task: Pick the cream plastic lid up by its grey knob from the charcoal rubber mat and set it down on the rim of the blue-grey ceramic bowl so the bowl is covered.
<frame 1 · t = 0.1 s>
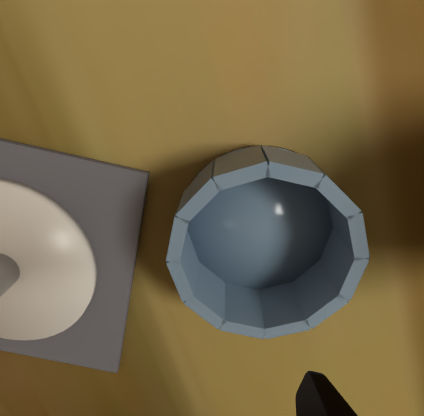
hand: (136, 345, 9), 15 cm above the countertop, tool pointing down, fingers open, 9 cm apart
bowl: (258, 223, 23), on the countertop
mat: (13, 258, 25), on the countertop
lid: (10, 261, 24), resting on mat
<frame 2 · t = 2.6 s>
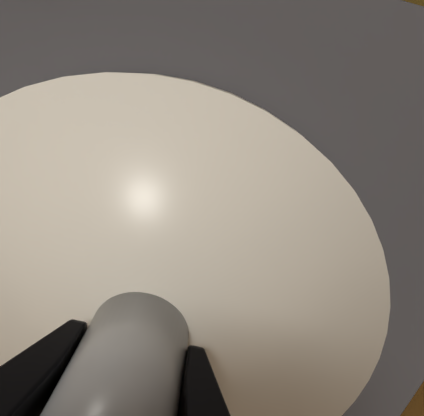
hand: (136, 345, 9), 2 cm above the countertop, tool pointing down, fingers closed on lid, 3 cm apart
mat: (151, 297, 10), on the countertop
lid: (148, 307, 10), point 1 cm above the countertop, touching gripper, mat
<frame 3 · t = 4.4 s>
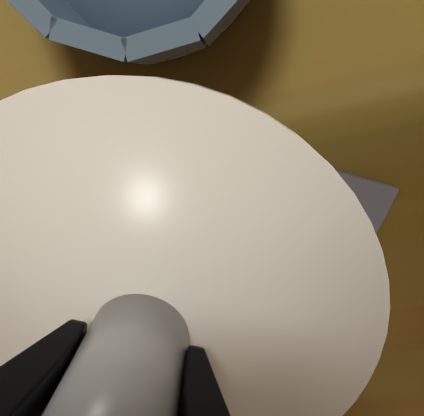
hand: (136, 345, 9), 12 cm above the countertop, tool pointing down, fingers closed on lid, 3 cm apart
mat: (200, 277, 21), on the countertop
lid: (148, 309, 10), point 10 cm above the countertop, touching gripper
when the fingers open (8 cm above the countertop, at t = 6.2 s): lid drops 2 cm, resting on bowl.
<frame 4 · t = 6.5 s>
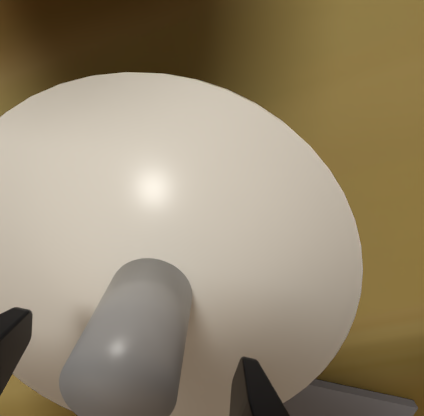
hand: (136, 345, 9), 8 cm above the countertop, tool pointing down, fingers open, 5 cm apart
lid: (157, 276, 11), point 5 cm above the countertop, touching bowl
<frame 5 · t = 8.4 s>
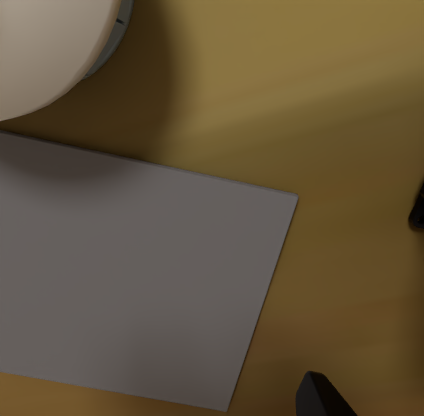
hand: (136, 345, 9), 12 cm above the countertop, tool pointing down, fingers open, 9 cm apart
mat: (125, 290, 22), on the countertop
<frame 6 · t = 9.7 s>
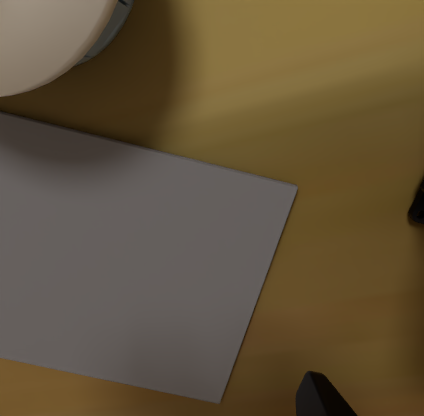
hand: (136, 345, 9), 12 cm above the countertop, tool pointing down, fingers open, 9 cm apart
mat: (121, 277, 22), on the countertop
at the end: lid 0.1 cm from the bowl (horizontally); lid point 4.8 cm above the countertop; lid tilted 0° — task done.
